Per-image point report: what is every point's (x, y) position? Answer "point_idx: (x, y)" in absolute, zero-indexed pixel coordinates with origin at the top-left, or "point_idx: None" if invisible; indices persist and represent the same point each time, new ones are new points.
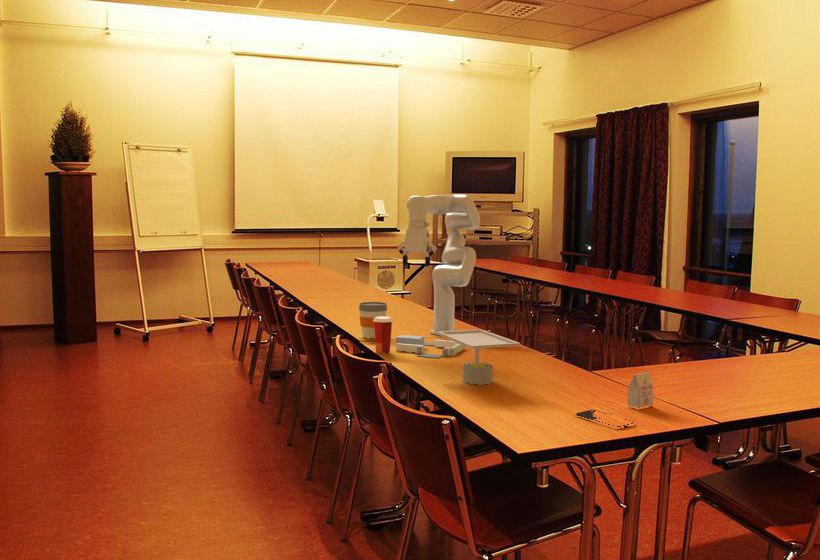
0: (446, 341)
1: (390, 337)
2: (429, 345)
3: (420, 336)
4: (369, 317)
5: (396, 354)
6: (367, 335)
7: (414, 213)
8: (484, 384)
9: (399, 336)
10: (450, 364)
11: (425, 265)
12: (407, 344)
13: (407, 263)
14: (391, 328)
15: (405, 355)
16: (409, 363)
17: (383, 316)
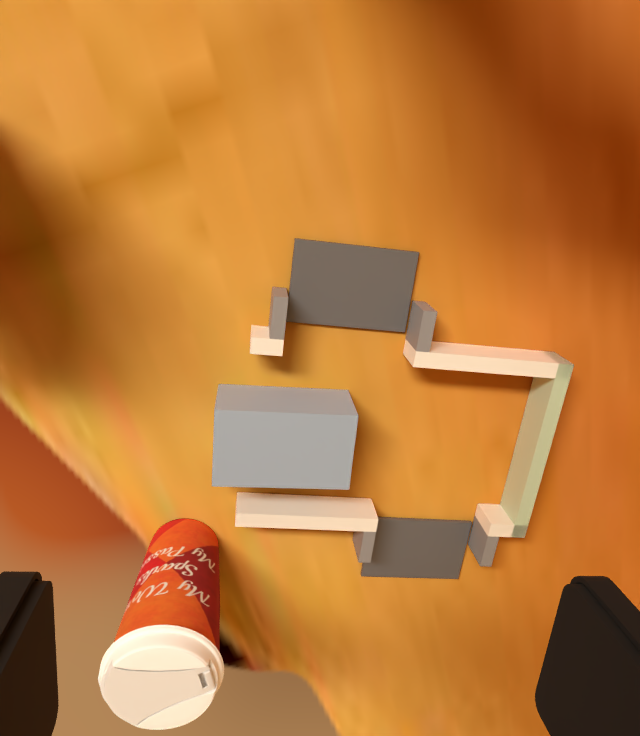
0: (475, 370)
1: (219, 596)
2: (365, 328)
3: (338, 419)
4: None
5: (262, 564)
6: None
7: None
8: None
9: (221, 457)
10: (513, 645)
11: (551, 724)
12: (296, 524)
13: (37, 619)
14: (216, 620)
15: (307, 569)
16: (361, 681)
17: (143, 654)
